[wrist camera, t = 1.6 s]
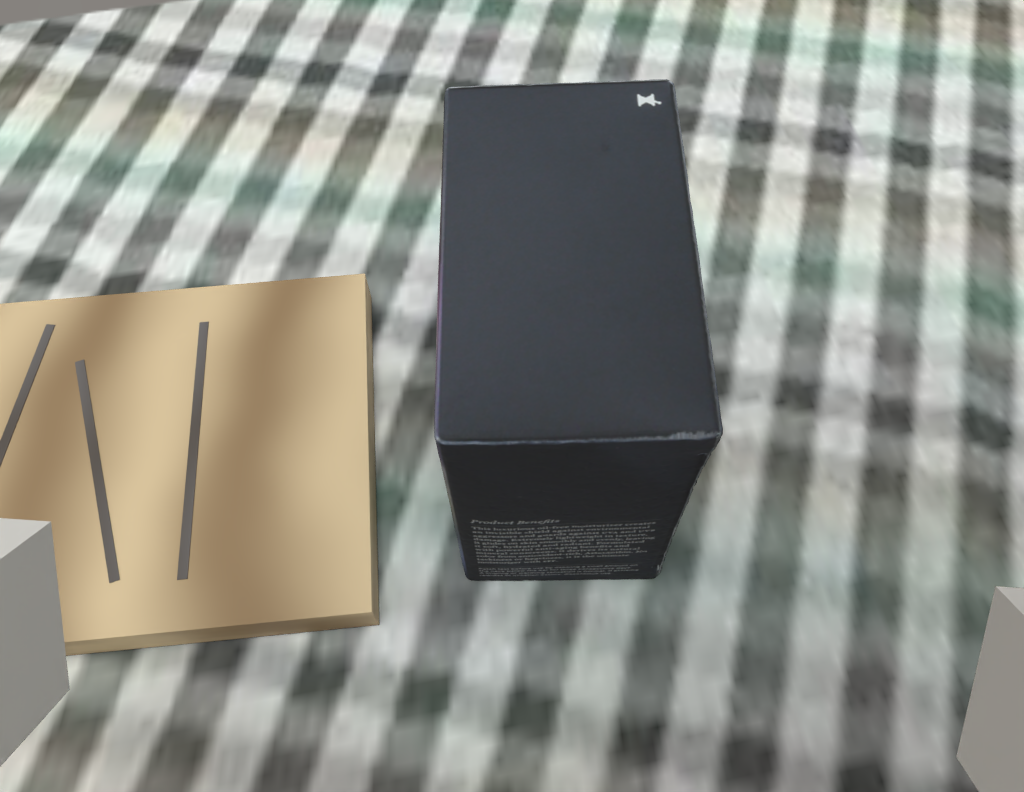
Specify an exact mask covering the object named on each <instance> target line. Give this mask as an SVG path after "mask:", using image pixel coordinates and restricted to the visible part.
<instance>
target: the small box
mask: <svg viewBox="0 0 1024 792" xmlns="http://www.w3.org/2000/svg"><path fill="white" fill-rule="evenodd" d="M722 434H723V428H722V422H721V414H720V406H719V399H718V392H717V385H716V378H715V370H714V363H713V355H712V347H711V340H710V335H709V329H708V322H707V312H706V305H705V299H704V291H703V284H702V277H701V268H700V260H699V253H698V247H697V240H696V233H695V226H694V221H693V211H692V206H691V202H690V194H689V184H688V176H687V170H686V164H685V155H684V147H683V141H682V135H681V128H680V119H679V116H678V108H677V101H676V92H675V86H674V84H673V83H672V82H671V81H670V80H667V79H659V80H644V81H640V80H634V81H617V82H610V81H608V82H582V83H543V84H526V85H525V84H516V85H489V86H468V87H450V88H448V89H446V92H445V97H444V129H443V155H442V186H441V216H440V243H439V269H438V303H437V339H436V376H435V419H434V435H435V440H436V444H437V449H438V454H439V458H440V461H441V466H442V470H443V475H444V480H445V484H446V489H447V493H448V498H449V502H450V506H451V511H452V516H453V521H454V527H455V530H456V534H457V538H458V543H459V548H460V553H461V558H462V563H463V567H464V571H465V575H466V577H467V578H468V579H470V580H583V579H648V578H655V577H656V576H657V575H658V574H659V573H660V572H661V569H662V565H663V562H664V560H665V556H666V553H667V551H668V548H669V545H670V543H671V541H672V537H673V536H674V534H675V531H676V529H677V527H678V524H679V521H680V519H681V516H682V514H683V512H684V509H685V507H686V505H687V503H688V501H689V497H690V495H691V493H692V491H693V487H694V486H695V485H696V483H697V479H698V478H699V475H700V473H701V471H702V469H703V467H704V466H705V464H706V462H707V460H708V458H709V456H710V455H711V452H712V451H713V450H714V449H715V447H716V446H717V444H718V442H719V441H720V438H721V436H722Z"/></svg>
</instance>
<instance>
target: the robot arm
mask: <svg viewBox="0 0 1024 792" xmlns="http://www.w3.org/2000/svg"><path fill="white" fill-rule="evenodd" d="M69 690H70V688H69V679H68V670H67V661H66V652H65V643H64V634H63V625H62V616H61V607H60V598H59V589H58V580H57V571H56V562H55V553H54V544H53V535H52V526H51V521H36V520H22V519H7V518H0V766H1V765H2V764H3V763H4V762H5V761H6V760H7V759H8V758H9V756H10V755H11V754H12V753H13V752H14V751H15V750H16V749H17V748H18V746H19V745H20V744H21V743H22V742H23V741H24V740H25V739H26V738H27V736H28V735H29V734H30V733H31V732H32V731H33V730H34V729H35V728H36V726H37V725H38V724H39V723H40V722H41V721H42V720H43V719H44V718H45V716H46V715H47V714H48V713H49V712H50V711H51V710H52V709H53V708H54V706H55V705H56V704H57V703H58V702H59V701H60V700H61V699H62V697H63V696H64V695H65V694H66V693H67V692H68V691H69ZM956 757H957V759H958V760H959V762H960V763H961V765H962V767H963V768H964V770H965V771H966V773H967V774H968V776H969V777H970V779H971V780H972V782H973V784H974V785H975V787H976V788H977V790H978V791H979V792H1024V588H1014V587H999V586H995V591H994V595H993V599H992V604H991V608H990V612H989V617H988V621H987V625H986V630H985V634H984V639H983V643H982V647H981V652H980V656H979V660H978V665H977V669H976V673H975V678H974V682H973V687H972V691H971V695H970V700H969V704H968V708H967V713H966V717H965V721H964V726H963V730H962V734H961V739H960V743H959V748H958V752H957V756H956Z"/></svg>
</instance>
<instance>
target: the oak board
mask: <svg viewBox="0 0 1024 792" xmlns="http://www.w3.org/2000/svg"><path fill="white" fill-rule="evenodd" d="M0 518H7V519H22V520H36V521H51V526H52V535H53V544H54V553H55V562H56V571H57V580H58V589H59V598H60V607H61V616H62V625H63V634H64V643H65V652H66V656H68V655H78V654H88V653H98V652H108V651H119V650H129V649H139V648H149V647H159V646H169V645H179V644H189V643H199V642H210V641H220V640H230V639H240V638H250V637H260V636H270V635H280V634H291V633H301V632H311V631H321V630H331V629H341V628H351V627H361V626H371V625H379V594H378V552H377V511H376V470H375V429H374V388H373V347H372V305H371V295H370V291H369V287H368V284H367V280H366V276H365V274H355V275H343V276H331V277H319V278H307V279H295V280H283V281H271V282H259V283H247V284H235V285H223V286H211V287H199V288H186V289H174V290H162V291H150V292H138V293H126V294H114V295H102V296H90V297H78V298H66V299H54V300H42V301H30V302H18V303H5V304H0Z"/></svg>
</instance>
